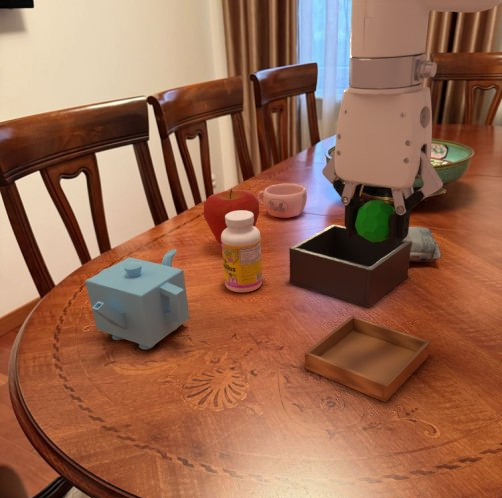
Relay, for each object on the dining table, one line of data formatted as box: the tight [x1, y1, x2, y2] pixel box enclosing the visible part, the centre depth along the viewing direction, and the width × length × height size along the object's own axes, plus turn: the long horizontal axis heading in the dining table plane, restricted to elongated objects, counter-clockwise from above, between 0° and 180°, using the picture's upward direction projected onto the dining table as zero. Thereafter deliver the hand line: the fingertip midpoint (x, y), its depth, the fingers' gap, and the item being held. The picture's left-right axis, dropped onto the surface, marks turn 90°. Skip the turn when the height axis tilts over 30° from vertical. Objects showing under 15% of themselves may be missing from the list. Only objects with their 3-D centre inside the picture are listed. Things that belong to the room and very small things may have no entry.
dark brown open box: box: [288, 223, 412, 309], centre depth 89 cm, size 16×14×7 cm
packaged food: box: [404, 226, 442, 263], centre depth 97 cm, size 9×12×5 cm
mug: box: [256, 183, 308, 219], centre depth 120 cm, size 12×10×6 cm
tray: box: [304, 315, 431, 403], centre depth 69 cm, size 12×12×2 cm
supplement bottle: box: [221, 210, 263, 293], centre depth 88 cm, size 7×7×13 cm
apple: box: [203, 188, 260, 246], centre depth 103 cm, size 11×11×12 cm
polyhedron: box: [355, 199, 395, 242], centre depth 63 cm, size 5×5×5 cm
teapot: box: [84, 248, 191, 350], centre depth 77 cm, size 16×18×11 cm
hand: (375, 236), depth 64 cm, fingers closed on polyhedron, 5 cm apart
